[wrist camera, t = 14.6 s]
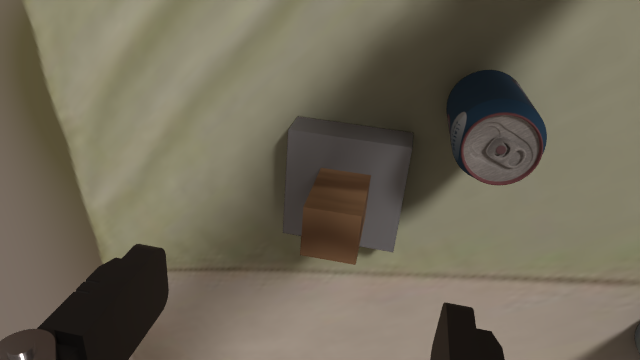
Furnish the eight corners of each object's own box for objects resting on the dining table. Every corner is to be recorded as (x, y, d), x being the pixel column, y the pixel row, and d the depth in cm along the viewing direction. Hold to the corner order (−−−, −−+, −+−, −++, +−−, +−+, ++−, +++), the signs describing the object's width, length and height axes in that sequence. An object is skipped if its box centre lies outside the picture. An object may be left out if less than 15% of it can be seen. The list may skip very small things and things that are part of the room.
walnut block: (321, 167, 48) (303, 206, 41) (370, 175, 47) (361, 216, 40) (317, 210, 50) (300, 254, 43) (365, 218, 49) (355, 264, 42)
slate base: (297, 116, 50) (288, 129, 46) (413, 132, 48) (412, 147, 45) (291, 214, 55) (282, 232, 52) (395, 231, 54) (393, 252, 50)
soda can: (431, 114, 47) (434, 164, 37) (474, 52, 44) (490, 87, 33) (491, 149, 48) (511, 208, 37) (538, 90, 44) (574, 136, 34)
